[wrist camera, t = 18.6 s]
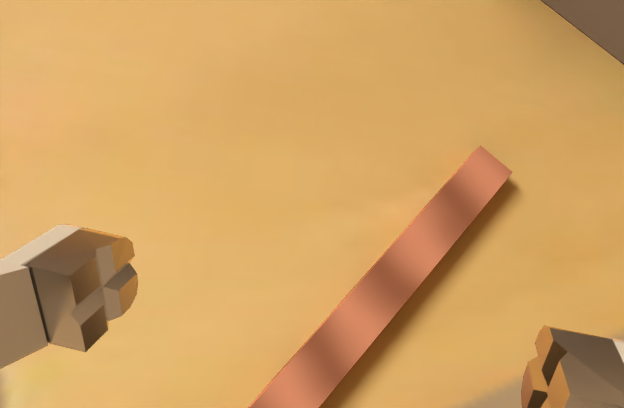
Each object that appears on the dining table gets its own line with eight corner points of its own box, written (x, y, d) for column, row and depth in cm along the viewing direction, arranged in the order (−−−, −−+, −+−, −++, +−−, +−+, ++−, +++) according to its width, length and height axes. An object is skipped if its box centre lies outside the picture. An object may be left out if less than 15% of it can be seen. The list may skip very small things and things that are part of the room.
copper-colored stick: (262, 467, 27) (262, 475, 26) (226, 430, 28) (224, 436, 26) (498, 182, 35) (512, 172, 33) (468, 156, 36) (480, 145, 34)
